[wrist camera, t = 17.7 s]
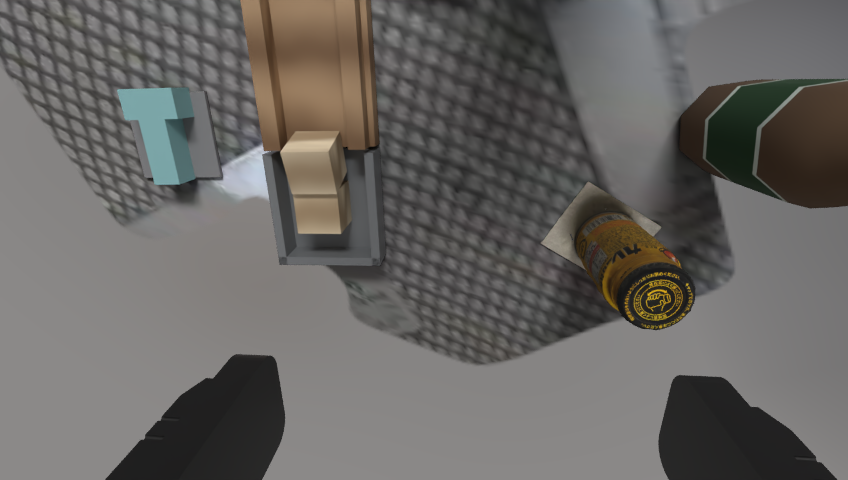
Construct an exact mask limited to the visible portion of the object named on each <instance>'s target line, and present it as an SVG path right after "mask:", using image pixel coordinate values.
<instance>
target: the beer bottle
mask: <svg viewBox="0 0 848 480" xmlns="http://www.w3.org/2000/svg"><path fill="white" fill-rule="evenodd" d="M679 150H680V151H681V152H683V153H684V154H685V155H686V156H687V157H688V158H690V159H691V160H692V161H693V162H694V163H696V164H697V165H698V166H699V167H700V168H701V169H703V170H704V171H706V172H709V173H711V174H713V175H715V176H718V177H720V178H723V179H726V180H729V181H731V182H734V183H736V184H739V185H742V186H744V187H747V188H750V189H753V190H755V191H758V192H761V193H763V194H766V195H769V196H771V197H774V198H777V199H780V200H783V201H785V202H788V203H791V204H795V205H799V206H803V207H807V208H828V207H840V206H848V79H798V80H797V79H796V80H795V79H789V80H786V79H783V80H753V81H744V82H738V83H730V84H724V85H717V86H711V87H708V88H707V89H706V90H705V91H704V92H703V93H702V94H701V95H700V96H699V97H698V99H697V100H696V101H695V102H694V103H693V104H692V105H691V106H690V107H689V108H688V109H687V110H686V111H685V112H684V113H683V114H682V115H681V127H680V147H679Z"/></svg>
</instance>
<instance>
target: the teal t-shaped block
mask: <svg viewBox="0 0 848 480" xmlns="http://www.w3.org/2000/svg"><path fill="white" fill-rule="evenodd" d="M117 91H118V94H119V98H120V102H121V106H122V110H123V113H124V117H125V120H138V121H139V125H140V128H141V132H142V136H143V140H144V144H145V148H146V152H147V156H148V160H149V164H150V168H151V172H152V176H153V179H154V183H155V185H175V184H182V183H185V182H188V181H191V180H194V179H195V174H194V169H193V165H192V160H191V156H190V151H189V147H188V142H187V138H186V133H185V128H184V124H183V119H182V118H189V117H194V112H193V107H192V102H191V98H190V93H189V88H150V89H118V90H117Z"/></svg>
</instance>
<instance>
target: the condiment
mask: <svg viewBox="0 0 848 480" xmlns="http://www.w3.org/2000/svg"><path fill="white" fill-rule="evenodd" d="M605 208H607V209H606V210H605ZM660 228H661V226H659V225H658V224H656V223H654V222H653V221H651V220H650V219H648V218H646V217H645V216H643V215H642V214H640V213H638V212H637V211H635V210H634V209H632V208H630V207H629V206H627V205H625V204H624V203H622V202H621V201H619V200H617V199H616V198H614V197H613V196H611V195H609V194H608V193H606V192H605V191H603V190H601V189H600V188H598V187H596V186H595V185H593V184H592V183H590V182H588V183H587V184H586V185H585V186H584V188H583V189H582V190H581V191H580V192H579V194H578V195H577V196H576V198H575V199H574V200H573V202H572V203H571V204H570V205H569V207H568V208H567V209H566V211H565V212H564V213H563V215H562V216H561V217H560V218H559V220H558V221H557V223H556V224H555V225H554V227H553V228H552V229H551V231H550V232H549V233H548V235H547V236H546V237H545V239H544V240H543V242H542V243H541V244H543V245H544V246H546V247H547V248H549V249H551V250H553V251H554V252H556V253H557V254H559V255H561V256H563V257H564V258H566V259H568V260H570V261H571V262H573V263H575V264H576V265H578V266H580V267H582V268H583V269H585V270H587V274H588V275H589V276H590V277H591V278H592V280H593V281H594V283H595V284H596V286H597V289H598V291H599V292H600V293H602V295H603V296H604V298H605V300H607V302H608V303H609V304H610V305H611V306H612V307H613V308H615V309H616V310H618V311H620V313H621V314H622V316H623V317H624V318H625V319H626V320H627V321H629V322H630V323H632V324H633V325H635V326H637V327H640V328H642V329H653V330H660V329H663V328H667V327H669V326H672V325H674V324H676V323H678V322H679V321H680V320H681V319H682V318H683V317H685V316H686V315H687V314H688V312H690V311H691V308H692V306H693V304H694V301H695V286H694V284H693V281H692V279H691V277H690V276H689V275H688V274H687V273H686V272H685V271H684V270H683V269H682V267H681V265H680V263H679V261H678V259H677V258H676V256H675V255H674V254H672V252H671V251H670V250H668V249H667V248H666V247H665V246H663V245H662V244H661V243H660V242H658V241H657V240H656V239H655V238H654V235H655V234H656V233H657V232H658V231H659V230H660ZM570 234H572V237H570ZM571 238H573V241H571Z"/></svg>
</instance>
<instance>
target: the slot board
mask: <svg viewBox="0 0 848 480" xmlns="http://www.w3.org/2000/svg"><path fill="white" fill-rule="evenodd" d="M241 7H242V13H243V19H244V26H245V32H246V39H247V45H248V51H249V58H250V64H251V71H252V77H253V83H254V90H255V96H256V103H257V109H258V115H259V122H260V128H261V135H262V141H263V147H264V151H281V150H282V149H283V148H284V146H285V145H286V144H287V142H288V141H289V140H290V138H291V137H292V136H293V134H294V133H295V132H296V131H340V135H341V140H342V146H343V147H348V150H365V149H367V148H368V147H372V146H377V145H378V144H379V128H378V112H377V96H376V79H375V63H374V47H373V31H372V15H371V0H241Z"/></svg>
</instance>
